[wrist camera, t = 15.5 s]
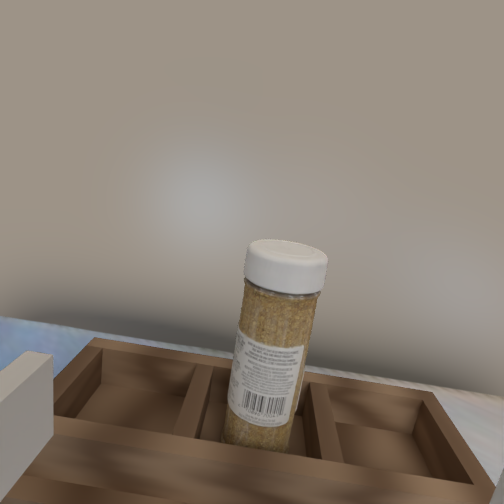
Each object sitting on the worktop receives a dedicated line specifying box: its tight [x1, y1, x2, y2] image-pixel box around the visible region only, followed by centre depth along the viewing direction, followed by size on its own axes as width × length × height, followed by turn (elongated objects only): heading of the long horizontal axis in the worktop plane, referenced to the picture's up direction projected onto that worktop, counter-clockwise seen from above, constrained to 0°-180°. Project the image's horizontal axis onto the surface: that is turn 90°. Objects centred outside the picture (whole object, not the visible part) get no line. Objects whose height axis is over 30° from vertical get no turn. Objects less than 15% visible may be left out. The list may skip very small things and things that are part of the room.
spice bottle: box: [221, 239, 328, 454], centre depth 22 cm, size 5×5×14 cm
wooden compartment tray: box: [0, 337, 496, 504], centre depth 24 cm, size 28×12×4 cm, turn 87°
